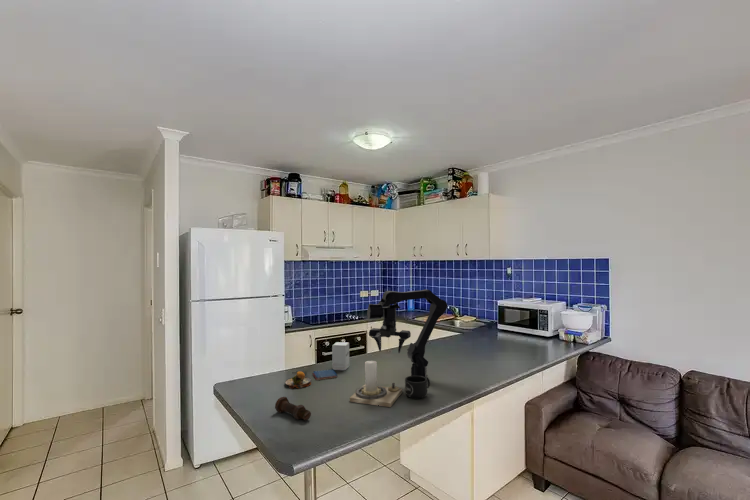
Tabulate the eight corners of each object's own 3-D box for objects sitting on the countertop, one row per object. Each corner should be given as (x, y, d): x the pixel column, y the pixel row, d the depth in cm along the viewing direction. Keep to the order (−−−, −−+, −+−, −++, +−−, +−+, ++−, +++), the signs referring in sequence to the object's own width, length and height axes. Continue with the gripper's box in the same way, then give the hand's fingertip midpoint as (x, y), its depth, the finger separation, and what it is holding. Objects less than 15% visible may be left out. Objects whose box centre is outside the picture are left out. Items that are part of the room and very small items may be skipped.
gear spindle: (379, 389, 152) (379, 359, 152) (381, 396, 144) (381, 364, 144) (361, 390, 151) (360, 359, 151) (362, 397, 143) (361, 365, 143)
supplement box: (345, 370, 183) (345, 345, 183) (331, 369, 184) (331, 345, 185) (349, 366, 190) (349, 342, 190) (336, 365, 192) (336, 341, 192)
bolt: (306, 427, 125) (278, 415, 135) (315, 415, 129) (288, 404, 138) (300, 415, 123) (272, 404, 132) (309, 404, 127) (282, 393, 136)
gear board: (402, 392, 152) (401, 382, 152) (390, 407, 137) (390, 395, 137) (364, 387, 158) (364, 377, 158) (349, 401, 143) (349, 390, 143)
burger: (297, 378, 172) (297, 363, 172) (316, 382, 166) (316, 366, 166) (279, 386, 162) (278, 369, 162) (298, 391, 156) (298, 373, 156)
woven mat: (311, 375, 178) (311, 370, 178) (333, 372, 182) (332, 368, 182) (315, 381, 168) (315, 377, 168) (338, 378, 172) (337, 374, 172)
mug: (415, 402, 141) (415, 384, 141) (400, 395, 149) (400, 378, 149) (437, 395, 148) (437, 377, 148) (422, 389, 156) (421, 372, 156)
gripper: (364, 319, 164) (364, 354, 163) (404, 322, 157) (404, 358, 157) (373, 316, 174) (373, 348, 174) (410, 318, 168) (410, 352, 167)
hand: (389, 352), depth 168 cm, fingers open, 9 cm apart
